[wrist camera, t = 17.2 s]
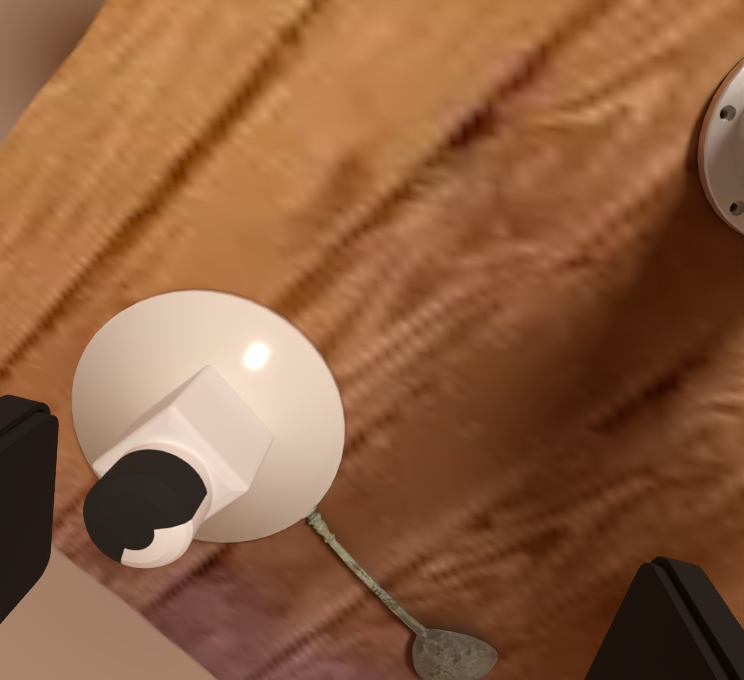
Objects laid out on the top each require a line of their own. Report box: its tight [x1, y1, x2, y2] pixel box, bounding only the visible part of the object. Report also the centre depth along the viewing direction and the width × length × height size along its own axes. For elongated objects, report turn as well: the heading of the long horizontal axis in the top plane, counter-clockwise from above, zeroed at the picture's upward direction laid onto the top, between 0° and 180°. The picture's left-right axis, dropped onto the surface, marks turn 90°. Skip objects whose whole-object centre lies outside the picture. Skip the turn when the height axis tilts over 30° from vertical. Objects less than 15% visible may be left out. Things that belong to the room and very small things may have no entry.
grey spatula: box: [301, 504, 498, 680], centre depth 46 cm, size 22×3×7 cm
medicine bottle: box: [83, 365, 274, 568], centre depth 36 cm, size 7×7×12 cm
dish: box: [72, 288, 346, 543], centre depth 42 cm, size 20×20×1 cm
